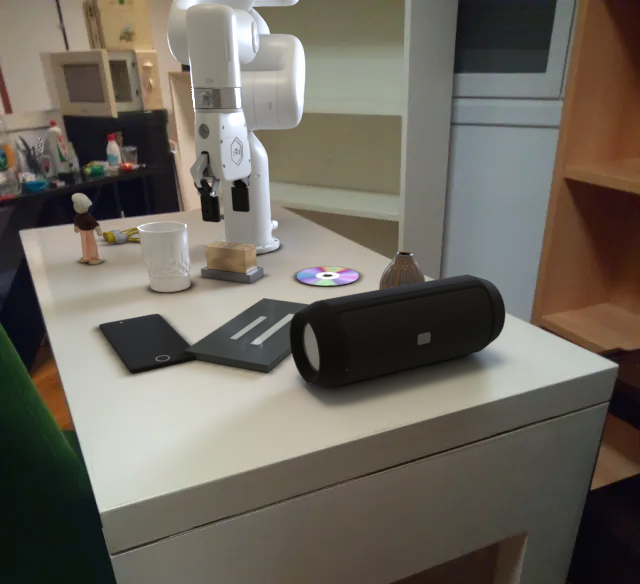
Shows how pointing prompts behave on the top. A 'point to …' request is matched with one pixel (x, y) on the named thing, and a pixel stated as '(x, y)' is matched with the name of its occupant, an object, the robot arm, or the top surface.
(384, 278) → the vase
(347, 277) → the cd
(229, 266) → the eraser
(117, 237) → the yellow grey glove
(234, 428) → the top surface
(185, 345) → the cell phone
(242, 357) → the slate board
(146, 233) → the white cup
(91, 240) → the grandmother figurine
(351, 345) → the portable speaker
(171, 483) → the top surface
